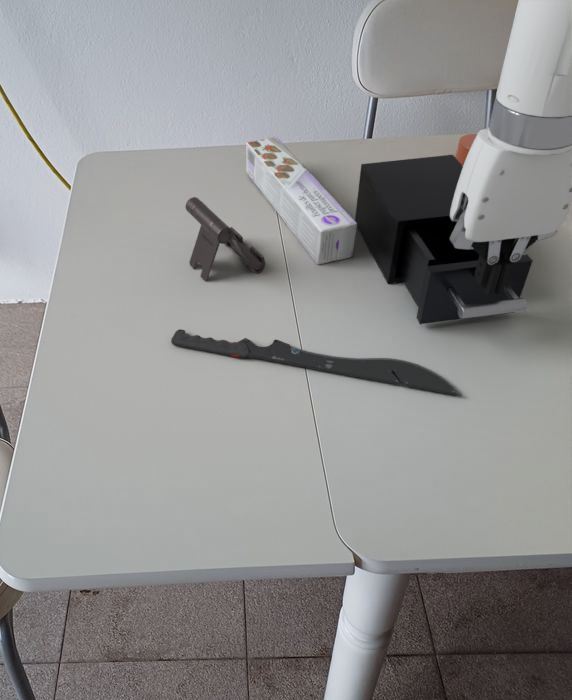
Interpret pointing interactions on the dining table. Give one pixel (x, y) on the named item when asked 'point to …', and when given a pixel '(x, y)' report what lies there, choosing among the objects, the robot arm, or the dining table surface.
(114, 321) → the dining table surface
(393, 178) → the cabinet
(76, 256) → the dining table surface
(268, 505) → the dining table surface
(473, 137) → the orange cylinder puck
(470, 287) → the drawer
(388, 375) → the knife
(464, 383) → the dining table surface
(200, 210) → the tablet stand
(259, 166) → the box
